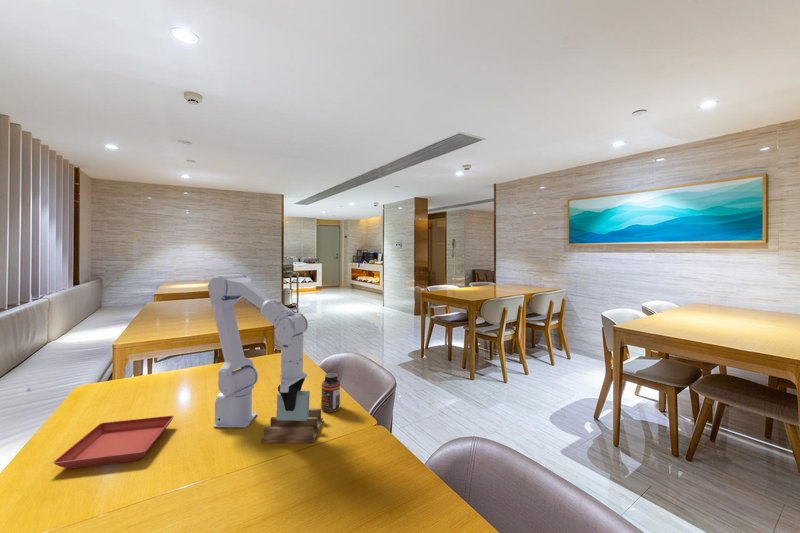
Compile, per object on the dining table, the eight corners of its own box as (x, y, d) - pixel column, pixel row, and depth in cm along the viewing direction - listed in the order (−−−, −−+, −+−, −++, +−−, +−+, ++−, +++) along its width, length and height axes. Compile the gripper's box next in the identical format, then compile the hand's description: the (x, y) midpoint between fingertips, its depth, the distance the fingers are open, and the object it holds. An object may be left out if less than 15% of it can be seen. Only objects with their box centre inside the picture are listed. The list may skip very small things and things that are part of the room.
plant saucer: (51, 476, 74) (50, 462, 74) (100, 433, 91) (100, 421, 91) (145, 465, 79) (145, 451, 79) (175, 426, 96) (175, 414, 96)
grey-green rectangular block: (276, 420, 90) (277, 395, 89) (280, 414, 93) (280, 390, 92) (306, 420, 90) (307, 395, 90) (309, 415, 93) (309, 390, 93)
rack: (261, 443, 88) (261, 429, 88) (276, 420, 100) (276, 408, 100) (314, 443, 89) (314, 429, 88) (322, 420, 100) (323, 408, 100)
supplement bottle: (317, 410, 107) (317, 375, 106) (329, 403, 112) (329, 370, 112) (331, 414, 104) (332, 379, 103) (343, 407, 109) (343, 373, 109)
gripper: (299, 368, 84) (299, 420, 84) (312, 351, 98) (312, 395, 99) (271, 367, 83) (271, 420, 84) (288, 350, 98) (288, 395, 98)
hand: (291, 407), depth 91 cm, fingers closed on grey-green rectangular block, 3 cm apart
